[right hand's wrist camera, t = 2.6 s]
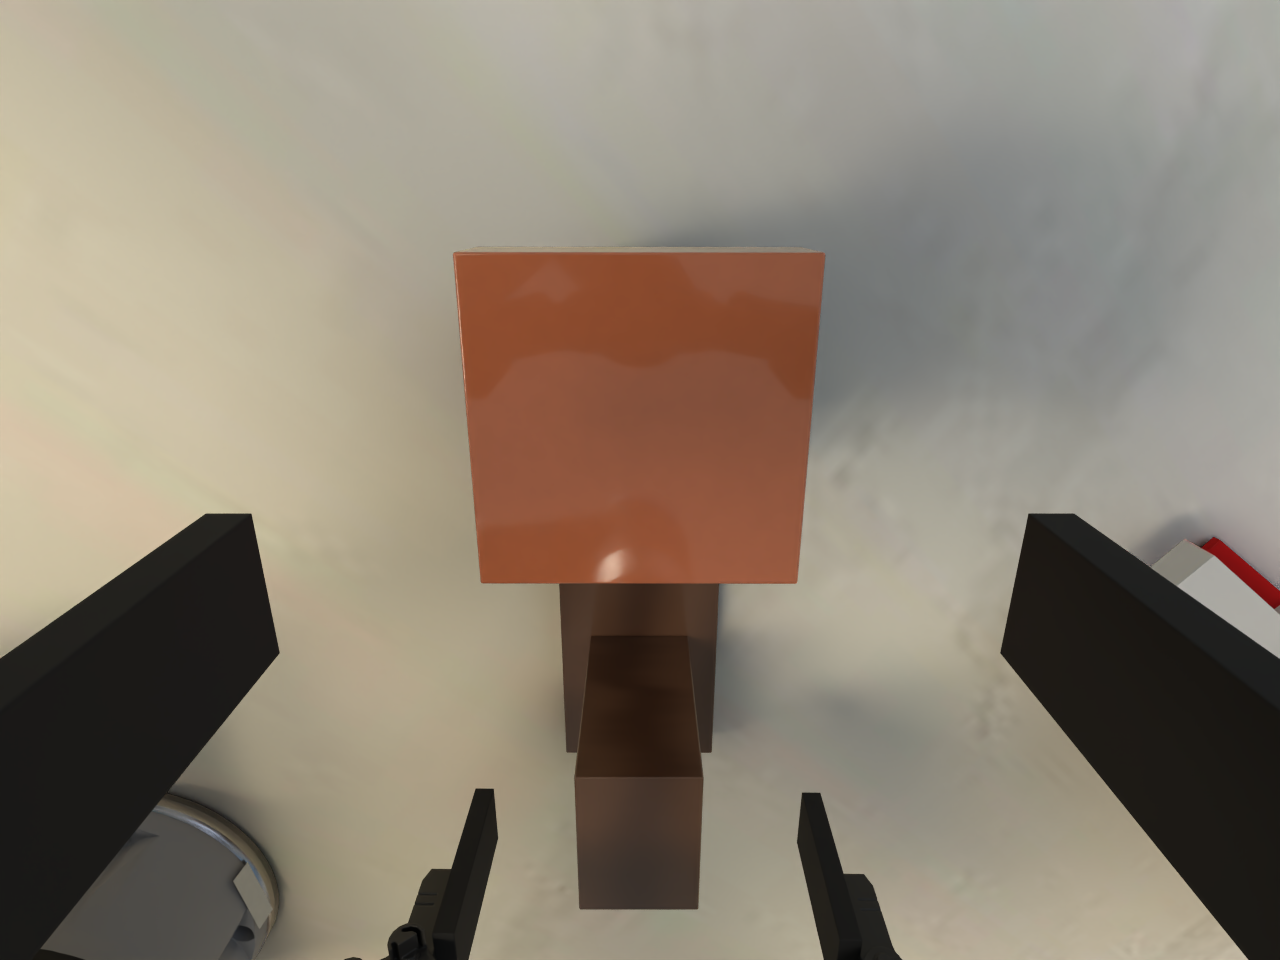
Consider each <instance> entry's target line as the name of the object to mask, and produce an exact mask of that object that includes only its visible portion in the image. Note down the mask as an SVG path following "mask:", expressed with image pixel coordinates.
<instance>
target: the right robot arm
mask: <svg viewBox="0 0 1280 960" xmlns="http://www.w3.org/2000/svg"><path fill="white" fill-rule="evenodd" d="M279 653H280V652H279V647H278V643H277V638H276V633H275V628H274V623H273V618H272V613H271V608H270V603H269V598H268V593H267V588H266V583H265V578H264V573H263V569H262V564H261V559H260V554H259V549H258V544H257V539H256V534H255V529H254V524H253V519H252V514H205V515H203V516H202V517H201V518H199V519H198V520H196V521H195V522H193V523H192V524H191V525H189V526H188V527H186V528H185V529H184V530H182V531H181V532H179V533H178V534H176V535H175V536H174V537H172V538H171V539H169V540H168V541H167V542H165V543H164V544H162V545H161V546H159V547H158V548H157V549H155V550H154V551H152V552H151V553H150V554H148V555H147V556H145V557H144V558H142V559H141V560H140V561H138V562H137V563H135V564H134V565H132V566H131V567H130V568H128V569H127V570H125V571H124V572H123V573H121V574H120V575H118V576H117V577H115V578H114V579H113V580H111V581H110V582H108V583H107V584H106V585H104V586H103V587H101V588H100V589H98V590H97V591H96V592H94V593H93V594H91V595H90V596H89V597H87V598H86V599H84V600H83V601H81V602H80V603H79V604H77V605H76V606H74V607H73V608H72V609H70V610H69V611H67V612H66V613H64V614H63V615H62V616H60V617H59V618H57V619H56V620H54V621H53V622H52V623H50V624H49V625H47V626H46V627H45V628H43V629H42V630H40V631H39V632H37V633H36V634H35V635H33V636H32V637H30V638H29V639H28V640H26V641H25V642H23V643H22V644H20V645H19V646H18V647H16V648H15V649H13V650H12V651H11V652H9V653H8V654H6V655H5V656H3V657H2V658H1V659H0V960H32V958H33V957H34V956H35V955H36V954H37V952H38V951H39V950H40V949H41V947H42V946H43V945H44V944H45V942H46V941H47V940H48V939H49V937H50V936H51V935H52V934H53V932H54V931H55V930H56V929H57V928H58V926H59V925H60V924H61V923H62V921H63V920H64V919H65V918H66V916H67V915H68V914H69V913H70V911H71V910H72V909H73V908H74V907H75V905H76V904H77V903H78V902H79V900H80V899H81V898H82V897H83V895H84V894H85V893H86V892H87V890H88V889H89V888H90V887H91V886H92V884H93V883H94V882H95V881H96V879H97V878H98V877H99V876H100V874H101V873H102V872H103V871H104V869H105V868H106V867H107V866H108V865H109V863H110V862H111V861H112V860H113V858H114V857H115V856H116V855H117V853H118V852H119V851H120V850H121V848H122V847H123V846H124V845H125V844H126V842H127V841H128V840H129V839H130V837H131V836H132V835H133V834H134V832H135V831H136V830H137V829H138V827H139V826H140V825H141V824H142V823H143V821H144V820H145V819H146V818H147V816H148V815H149V814H150V813H151V811H152V810H153V809H154V808H155V806H156V805H157V804H158V803H159V801H160V800H161V799H162V798H163V797H164V795H165V794H166V793H167V792H168V790H169V789H170V788H171V787H172V785H173V784H174V783H175V782H176V780H177V779H178V778H179V777H180V776H181V774H182V773H183V772H184V771H185V769H186V768H187V767H188V766H189V764H190V763H191V762H192V761H193V759H194V758H195V757H196V756H197V755H198V753H199V752H200V751H201V750H202V748H203V747H204V746H205V745H206V743H207V742H208V741H209V740H210V738H211V737H212V736H213V735H214V734H215V732H216V731H217V730H218V729H219V727H220V726H221V725H222V724H223V722H224V721H225V720H226V719H227V717H228V716H229V715H230V714H231V713H232V711H233V710H234V709H235V708H236V706H237V705H238V704H239V703H240V701H241V700H242V699H243V698H244V696H245V695H246V694H247V693H248V692H249V690H250V689H251V688H252V687H253V685H254V684H255V683H256V682H257V680H258V679H259V678H260V677H261V675H262V674H263V673H264V672H265V670H266V669H267V668H268V667H269V666H270V664H271V663H272V662H273V661H274V659H275V658H276V657H277V656H278V654H279ZM1000 653H1001V654H1002V656H1003V657H1004V658H1005V659H1006V661H1007V662H1008V663H1009V664H1010V666H1011V667H1012V668H1013V669H1014V670H1015V672H1016V673H1017V674H1018V675H1019V677H1020V678H1021V679H1022V680H1023V682H1024V683H1025V684H1026V685H1027V687H1028V688H1029V689H1030V690H1031V692H1032V693H1033V694H1034V695H1035V696H1036V698H1037V699H1038V700H1039V701H1040V703H1041V704H1042V705H1043V706H1044V708H1045V709H1046V710H1047V711H1048V713H1049V714H1050V715H1051V716H1052V717H1053V719H1054V720H1055V721H1056V722H1057V724H1058V725H1059V726H1060V727H1061V729H1062V730H1063V731H1064V732H1065V734H1066V735H1067V736H1068V737H1069V738H1070V740H1071V741H1072V742H1073V743H1074V745H1075V746H1076V747H1077V748H1078V750H1079V751H1080V752H1081V753H1082V755H1083V756H1084V757H1085V758H1086V759H1087V761H1088V762H1089V763H1090V764H1091V766H1092V767H1093V768H1094V769H1095V771H1096V772H1097V773H1098V774H1099V776H1100V777H1101V778H1102V779H1103V780H1104V782H1105V783H1106V784H1107V785H1108V787H1109V788H1110V789H1111V790H1112V792H1113V793H1114V794H1115V795H1116V797H1117V798H1118V799H1119V800H1120V801H1121V803H1122V804H1123V805H1124V806H1125V808H1126V809H1127V810H1128V811H1129V813H1130V814H1131V815H1132V816H1133V818H1134V819H1135V820H1136V821H1137V823H1138V824H1139V825H1140V826H1141V827H1142V829H1143V830H1144V831H1145V832H1146V834H1147V835H1148V836H1149V837H1150V839H1151V840H1152V841H1153V842H1154V844H1155V845H1156V846H1157V847H1158V848H1159V850H1160V851H1161V852H1162V853H1163V855H1164V856H1165V857H1166V858H1167V860H1168V861H1169V862H1170V863H1171V865H1172V866H1173V867H1174V868H1175V869H1176V871H1177V872H1178V873H1179V874H1180V876H1181V877H1182V878H1183V879H1184V881H1185V882H1186V883H1187V884H1188V886H1189V887H1190V888H1191V889H1192V890H1193V892H1194V893H1195V894H1196V895H1197V897H1198V898H1199V899H1200V900H1201V902H1202V903H1203V904H1204V905H1205V907H1206V908H1207V909H1208V910H1209V911H1210V913H1211V914H1212V915H1213V916H1214V918H1215V919H1216V920H1217V921H1218V923H1219V924H1220V925H1221V926H1222V928H1223V929H1224V930H1225V931H1226V932H1227V934H1228V935H1229V936H1230V937H1231V939H1232V940H1233V941H1234V942H1235V944H1236V945H1237V946H1238V947H1239V949H1240V950H1241V951H1242V952H1243V954H1244V955H1245V956H1246V957H1247V958H1248V960H1280V659H1279V658H1278V657H1277V656H1275V655H1274V654H1272V653H1271V652H1269V651H1268V650H1267V649H1265V648H1264V647H1262V646H1261V645H1260V644H1258V643H1257V642H1255V641H1254V640H1252V639H1251V638H1250V637H1248V636H1247V635H1245V634H1244V633H1243V632H1241V631H1240V630H1238V629H1237V628H1235V627H1234V626H1233V625H1231V624H1230V623H1228V622H1227V621H1226V620H1224V619H1223V618H1221V617H1220V616H1218V615H1217V614H1216V613H1214V612H1213V611H1211V610H1210V609H1208V608H1207V607H1206V606H1204V605H1203V604H1201V603H1200V602H1199V601H1197V600H1196V599H1194V598H1193V597H1191V596H1190V595H1189V594H1187V593H1186V592H1184V591H1183V590H1182V589H1180V588H1179V587H1177V586H1176V585H1174V584H1173V583H1172V582H1170V581H1169V580H1167V579H1166V578H1165V577H1163V576H1162V575H1160V574H1159V573H1157V572H1156V571H1155V570H1153V569H1152V568H1150V567H1149V566H1148V565H1146V564H1145V563H1143V562H1142V561H1140V560H1139V559H1138V558H1136V557H1135V556H1133V555H1132V554H1130V553H1129V552H1128V551H1126V550H1125V549H1123V548H1122V547H1121V546H1119V545H1118V544H1116V543H1115V542H1113V541H1112V540H1111V539H1109V538H1108V537H1106V536H1105V535H1104V534H1102V533H1101V532H1099V531H1098V530H1096V529H1095V528H1094V527H1092V526H1091V525H1089V524H1088V523H1087V522H1085V521H1084V520H1082V519H1081V518H1079V517H1078V516H1077V515H1075V514H1028V519H1027V524H1026V529H1025V534H1024V539H1023V544H1022V549H1021V554H1020V559H1019V564H1018V569H1017V573H1016V578H1015V583H1014V588H1013V593H1012V598H1011V603H1010V608H1009V613H1008V618H1007V623H1006V628H1005V633H1004V638H1003V643H1002V647H1001V652H1000Z"/></svg>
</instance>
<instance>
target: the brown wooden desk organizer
mask: <svg viewBox="0 0 1280 960" xmlns="http://www.w3.org/2000/svg"><path fill="white" fill-rule="evenodd" d="M559 586H560V610H561V634H562V657H563V681H564V705H565V728H566V752H571V753H577V759H576V768H575V777H574V781H575V807H576V833H577V859H578V886H579V908H580V909H698V903H699V878H700V853H701V827H702V802H703V769H702V760H701V753H711V752H712V732H713V709H714V686H715V664H716V641H717V618H718V595H719V583H559Z"/></svg>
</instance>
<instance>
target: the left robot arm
mask: <svg viewBox="0 0 1280 960" xmlns="http://www.w3.org/2000/svg"><path fill="white" fill-rule="evenodd" d="M497 840H498V832H497V821H496V810H495V798H494V789H476V790H475V793H474V796H473V799H472V803H471V806H470V809H469V813H468V816H467V819H466V823H465V826H464V829H463V832H462V836H461V839H460V842H459V846H458V849H457V852H456V856H455V859H454V862H453V865H452V869H431V870H430V872H429V873H428V874H427V875H426V877H425V878H424V879H423V881H422V883H421V886H420V889H419V892H418V895H417V898H416V901H415V905H414V907H413V910H412V913H411V916H410V919H409V922H408V923H407V924H404V925H402V926H400V927H398V928H397V929H396V930H395V931H393V933H392V934H391V936H390V937H389V940H388V951H389V956H387V957H386V958H383V959H381V960H468V959H469V955H470V951H471V947H472V943H473V939H474V935H475V931H476V926H477V922H478V918H479V914H480V910H481V906H482V902H483V898H484V894H485V889H486V885H487V881H488V877H489V873H490V869H491V865H492V861H493V857H494V853H495V848H496V844H497ZM797 844H798V848H799V853H800V857H801V861H802V866H803V870H804V874H805V879H806V883H807V888H808V892H809V896H810V901H811V905H812V910H813V914H814V918H815V923H816V927H817V931H818V936H819V940H820V945H821V949H822V953H823V958H824V960H902V959H901V958H900V957H899V955H898V954H897V953H896V952H895V950H894V948H893V946H892V943H891V940H890V937H889V934H888V931H887V928H886V924H885V921H884V918H883V915H882V912H881V910H880V906H879V903H878V901H877V897H876V894H875V891H874V888H873V885H872V884H871V883H870V881H869V880H868V879H867V878H866V876H865V875H864V874H843V871H842V867H841V864H840V860H839V857H838V853H837V850H836V846H835V843H834V839H833V836H832V832H831V829H830V825H829V822H828V818H827V815H826V811H825V808H824V804H823V801H822V797H821V794H820V793H802V799H801V809H800V818H799V828H798V838H797ZM278 908H279V894H278V887H277V882H276V879H275V876H274V873H273V871H272V869H271V867H270V865H269V863H268V861H267V860H266V858H265V856H264V855H263V853H262V852H261V851H260V850H259V848H258V847H257V846H256V845H255V844H254V842H253V841H252V840H251V839H250V838H249V837H248V836H247V835H246V834H245V833H243V832H242V831H241V830H240V829H239V828H238V827H236V826H235V825H234V824H232V823H231V822H230V821H228V820H227V819H225V818H224V817H222V816H221V815H219V814H217V813H215V812H214V811H212V810H210V809H208V808H206V807H204V806H202V805H200V804H197V803H195V802H193V801H190V800H187V799H185V798H182V797H178V796H175V795H172V794H168V793H166V794H165V795H164V797H163V798H162V799H161V800H160V801H159V803H158V804H157V805H156V806H155V808H154V809H153V810H152V811H151V813H150V814H149V815H148V816H147V818H146V819H145V820H144V821H143V823H142V824H141V825H140V826H139V827H138V829H137V830H136V831H135V832H134V834H133V835H132V836H131V837H130V839H129V840H128V841H127V842H126V844H125V845H124V846H123V847H122V848H121V850H120V851H119V852H118V853H117V855H116V856H115V857H114V858H113V860H112V861H111V862H110V863H109V865H108V866H107V867H106V868H105V869H104V871H103V872H102V873H101V874H100V876H99V877H98V878H97V879H96V881H95V882H94V883H93V884H92V886H91V887H90V888H89V889H88V890H87V892H86V893H85V894H84V895H83V897H82V898H81V899H80V900H79V902H78V903H77V904H76V905H75V907H74V908H73V909H72V910H71V911H70V913H69V914H68V915H67V916H66V918H65V919H64V920H63V921H62V923H61V924H60V925H59V926H58V928H57V929H56V930H55V931H54V932H53V934H52V935H51V936H50V937H49V939H48V940H47V941H46V942H45V944H44V945H43V946H42V947H41V949H40V950H39V951H38V952H37V954H36V955H35V956H34V957H33V958H32V960H254V959H255V957H256V956H257V955H258V953H259V952H260V950H261V948H262V946H263V944H264V943H265V941H266V939H267V937H268V935H269V933H270V931H271V929H272V927H273V925H274V923H275V920H276V917H277V913H278ZM345 960H362V959H360V958H355V957H352V958H347V959H345Z"/></svg>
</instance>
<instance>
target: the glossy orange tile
mask: <svg viewBox="0 0 1280 960" xmlns="http://www.w3.org/2000/svg"><path fill="white" fill-rule="evenodd" d="M453 261H454V273H455V284H456V296H457V308H458V320H459V332H460V344H461V355H462V367H463V379H464V391H465V403H466V414H467V426H468V438H469V450H470V462H471V474H472V485H473V497H474V509H475V521H476V533H477V544H478V556H479V568H480V580H481V583H720V584H795V583H797V580H798V569H799V557H800V546H801V534H802V522H803V511H804V499H805V487H806V476H807V464H808V453H809V441H810V429H811V418H812V406H813V394H814V383H815V371H816V360H817V348H818V336H819V325H820V313H821V301H822V290H823V278H824V267H825V253H823V252H819V251H815V250H811V249H807V248H803V247H474V248H470V249H466V250H462V251H457V252H454V253H453Z"/></svg>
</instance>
